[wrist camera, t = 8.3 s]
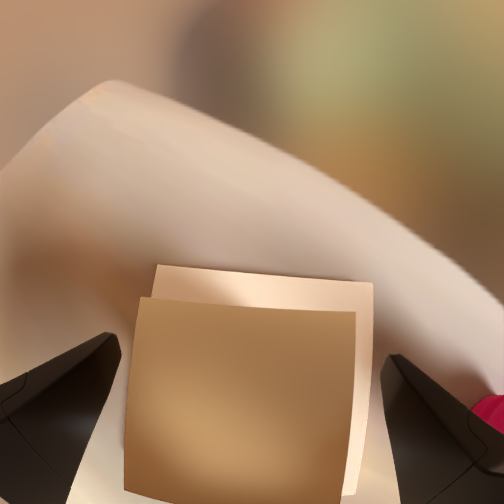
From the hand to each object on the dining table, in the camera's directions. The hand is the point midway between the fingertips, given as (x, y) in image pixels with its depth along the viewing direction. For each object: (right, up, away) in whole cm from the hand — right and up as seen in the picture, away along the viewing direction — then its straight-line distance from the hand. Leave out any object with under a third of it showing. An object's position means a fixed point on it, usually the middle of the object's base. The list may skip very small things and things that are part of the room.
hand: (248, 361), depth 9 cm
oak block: (0, -4, +7) cm, 8 cm away
